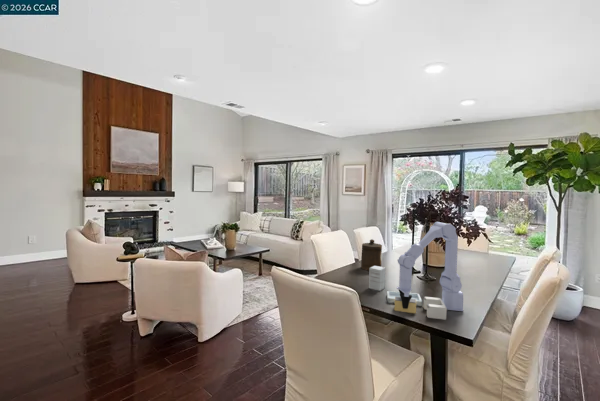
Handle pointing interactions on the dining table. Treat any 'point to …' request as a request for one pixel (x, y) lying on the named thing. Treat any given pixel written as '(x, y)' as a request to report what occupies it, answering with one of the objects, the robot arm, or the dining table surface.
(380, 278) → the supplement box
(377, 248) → the wooden container
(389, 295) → the tray
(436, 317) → the bay
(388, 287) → the dining table surface
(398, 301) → the yellow rectangular block
